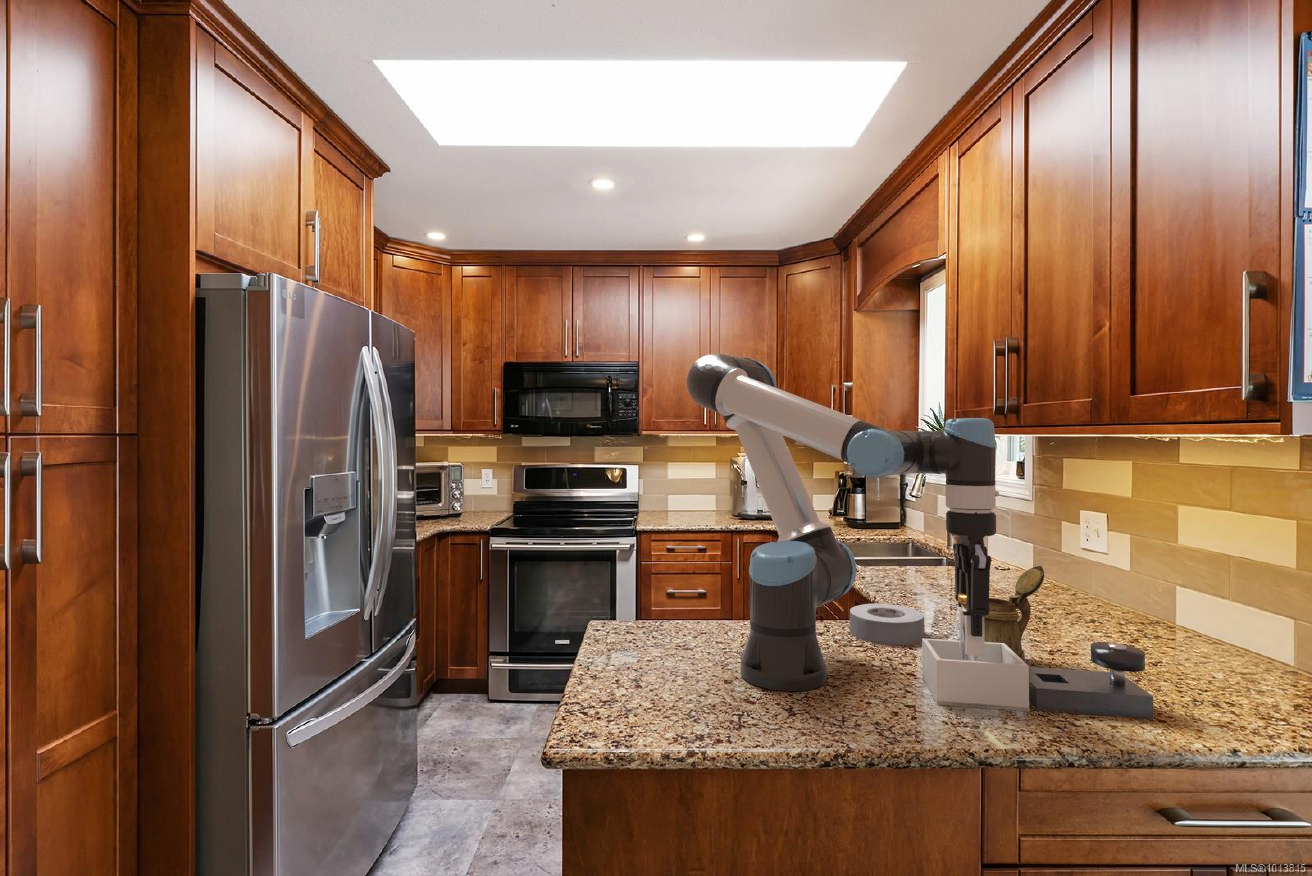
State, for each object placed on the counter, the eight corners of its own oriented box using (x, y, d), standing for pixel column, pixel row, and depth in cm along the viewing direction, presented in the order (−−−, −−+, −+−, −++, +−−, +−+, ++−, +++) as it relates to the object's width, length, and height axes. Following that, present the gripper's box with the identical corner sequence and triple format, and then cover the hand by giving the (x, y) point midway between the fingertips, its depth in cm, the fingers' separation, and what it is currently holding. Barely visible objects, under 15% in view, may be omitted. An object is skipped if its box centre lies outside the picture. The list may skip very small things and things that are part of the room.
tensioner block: (1036, 710, 98) (1036, 649, 98) (1014, 686, 108) (1013, 631, 108) (1161, 720, 95) (1160, 657, 95) (1126, 694, 104) (1125, 637, 104)
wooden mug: (1059, 666, 118) (1058, 570, 118) (989, 667, 117) (988, 571, 117) (1028, 650, 127) (1027, 561, 127) (963, 652, 126) (962, 562, 126)
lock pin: (962, 684, 103) (961, 598, 103) (956, 675, 107) (955, 592, 107) (988, 686, 102) (988, 599, 102) (981, 677, 106) (980, 593, 106)
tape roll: (875, 649, 129) (875, 624, 129) (836, 627, 143) (836, 605, 144) (940, 643, 132) (939, 619, 132) (896, 623, 147) (895, 601, 147)
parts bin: (937, 704, 100) (936, 660, 101) (922, 678, 112) (922, 638, 112) (1029, 711, 98) (1028, 665, 98) (1004, 684, 109) (1004, 643, 109)
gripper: (1011, 516, 96) (1013, 669, 96) (980, 506, 112) (981, 637, 112) (959, 515, 98) (960, 666, 98) (935, 505, 114) (936, 635, 113)
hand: (971, 650), depth 105 cm, fingers closed on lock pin, 3 cm apart
